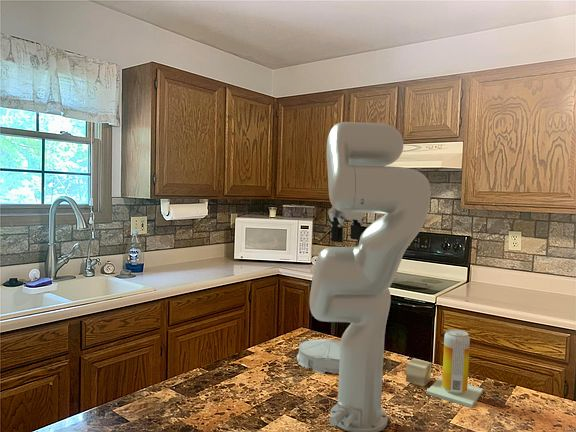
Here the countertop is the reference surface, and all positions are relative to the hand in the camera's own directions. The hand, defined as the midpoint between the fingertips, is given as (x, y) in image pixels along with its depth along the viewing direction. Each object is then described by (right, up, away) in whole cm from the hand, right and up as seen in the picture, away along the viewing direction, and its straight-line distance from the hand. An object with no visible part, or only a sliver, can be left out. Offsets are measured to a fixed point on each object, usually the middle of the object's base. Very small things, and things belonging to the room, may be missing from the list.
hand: (346, 240), depth 121 cm
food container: (-4, -37, +11) cm, 39 cm away
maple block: (+19, -38, -1) cm, 43 cm away
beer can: (+27, -38, -8) cm, 47 cm away
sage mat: (+27, -39, -8) cm, 48 cm away
